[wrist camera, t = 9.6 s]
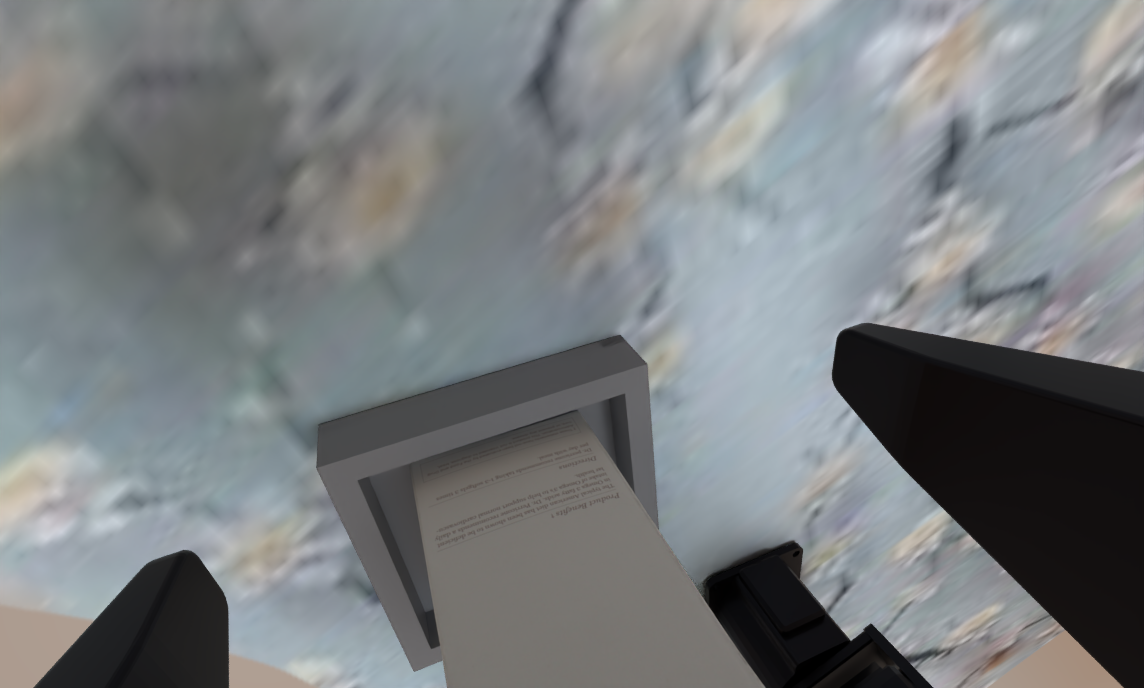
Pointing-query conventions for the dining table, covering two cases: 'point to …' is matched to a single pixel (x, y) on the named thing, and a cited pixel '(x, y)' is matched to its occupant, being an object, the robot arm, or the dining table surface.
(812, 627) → the robot arm
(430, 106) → the dining table surface
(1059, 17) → the dining table surface
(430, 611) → the tray
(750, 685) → the supplement box
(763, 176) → the dining table surface
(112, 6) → the dining table surface
